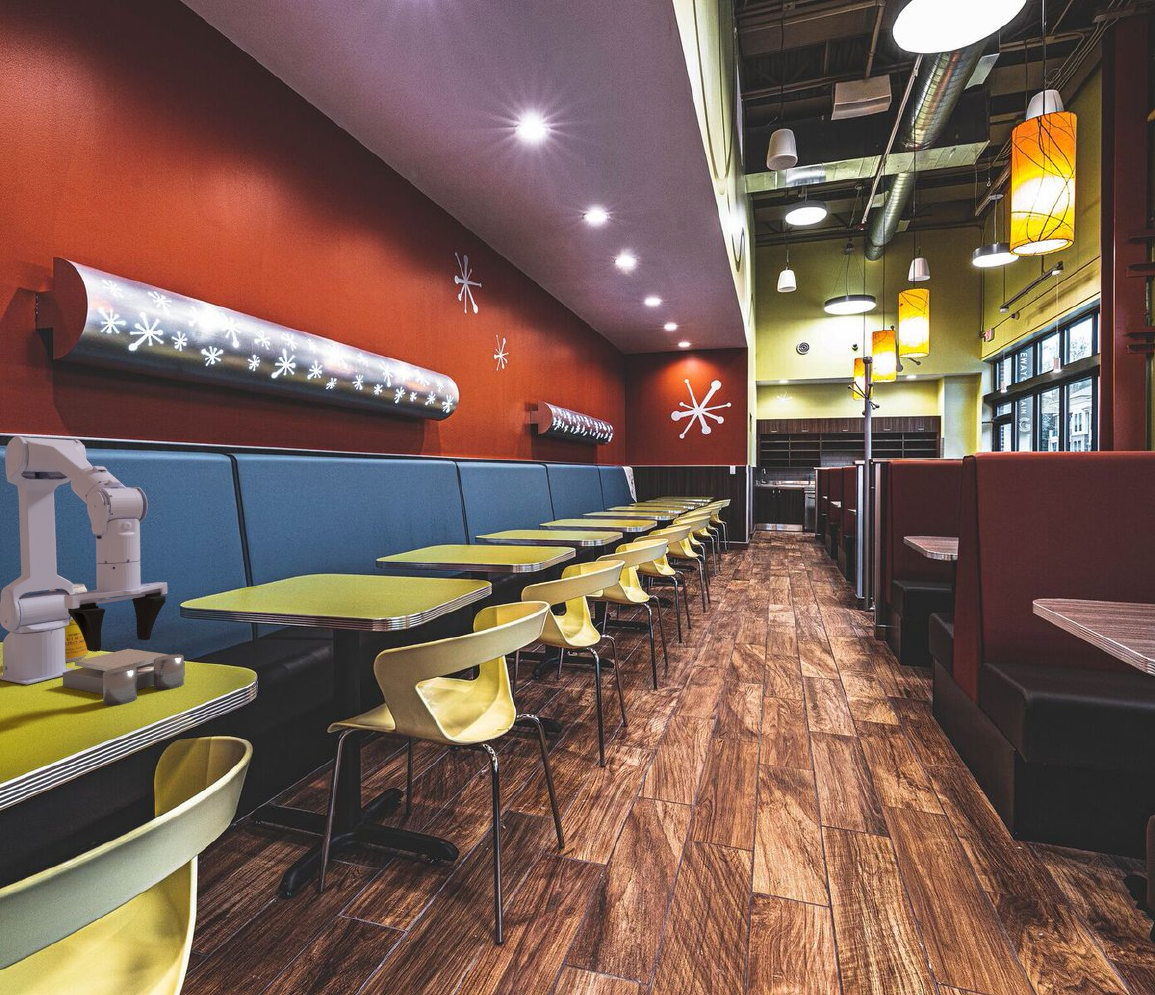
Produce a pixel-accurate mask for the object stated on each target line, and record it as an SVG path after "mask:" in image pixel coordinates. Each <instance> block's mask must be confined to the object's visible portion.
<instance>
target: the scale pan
mask: <svg viewBox="0 0 1155 995" xmlns="http://www.w3.org/2000/svg"><path fill="white" fill-rule="evenodd" d="M165 655H169V654H168V653H161V652H160V653H159V652H153V651H145V650H140V649H134V648H133V649H131V648H126V649H122V650H117V651H113V652H110V653H105V654H102V655H101V654H100V655H96V656H93V657H87V658H84V659H81V660H78V661H74V666H75V667H79V668H83V667H85V668H91V669H97V670H103V671H107V670H110V669H114V668H120V667H139V666H143V665H147V664H150V663H154V661H153V660H154V659H155V658H157V657H161V656H165Z"/></svg>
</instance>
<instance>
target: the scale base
mask: <svg viewBox="0 0 1155 995" xmlns="http://www.w3.org/2000/svg"><path fill="white" fill-rule="evenodd" d="M185 664H186V663H185V662H184V677H185V675H186V673H185V668H186V666H185ZM136 668H137V691H139V690H141V689H145V688H148V687H152V686H154V663H150V664H147V665H143V666H139V667H136ZM74 669H75V668H74ZM103 672H105V671H103V670H97V669H91V668H85V667H79V668H76V669H75V670H71V671H67V672H63V676H62V687H63V688H68V689H74V690H78V691H84V692H89V693H95V694H99V693H100V695H103Z"/></svg>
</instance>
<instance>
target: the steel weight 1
mask: <svg viewBox="0 0 1155 995" xmlns="http://www.w3.org/2000/svg"><path fill="white" fill-rule="evenodd" d="M102 697H103V701H102V702H103V705H104V706H107V707H115V706H121V705H126V704H129V703H133V702H135V701H136V700H137V699H138V690H137V668H136V667H120V668H114V669H110V670H107V671H105V672H103V694H102Z"/></svg>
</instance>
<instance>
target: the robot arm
mask: <svg viewBox="0 0 1155 995" xmlns="http://www.w3.org/2000/svg"><path fill="white" fill-rule="evenodd" d="M4 454H5V457H4V458H5V459H4V460H5V475H6V480H7V483H9V484H13V485H15V486H16V487H17V493H18V512H19V514H18V517H19V519H18V520H19V539H20V543H19V544H20V548H19V549H20V569H21V575H20V576H19V577H17V578H16V579H15V580H13V581H12V582H9V584H7V585H5V586H4V587H3V588H2V589H1V592H0V625H1V627H3V629H5V630H6V631H8V632H9V633H8V634H7V635H6V636H5V638H4V639H3V641H2V645H1V646H2V647H1V648H2V674H1V675H0V680H2V681H7V682H12V683H17V684H23V685H31V684H35V683H38V682H43V681H47V680H50V679H51V680H52V679H56V678H58V677H63V672H67V671H71V670H75V668H69V667H66V663H65V626H68V625H69V621H71V620H72V619H74V621H75V622H76V624H77V625H78V627H79V629H80V631H81V633H82V635H83V638H84V640H85V643H86V647H87V650H88V652H92V653H93V652H94V653H96V652H97V653H98V652H101V648H102V626H103V620H104V615H105V612H106V609H105V608H100V607H99V604H100V605H101V604H108V603H112V602H118V601H126V600H132V605H133V607H134V612H135V618H136V636H137V639H138V640H140V641H149V640H151V637H152V636H151V635H152V633H153V632H152V631H153V629H154V626H155V622H156V620H157V617H158V615H159V613H160V612H161V610H162V608H163V606H164V605H165V604H166V603H167V602H166V601H167V597H166V596H165V595H166V594H168V582H166V581H165V582H163V581H156V582H148V583H141V580H142V579H141V525H140V524H141V523H140V522H143V520H144V519H146V517H147V514H148V509H149V508H148V507H149V504H148V499H147V498H148V497H147V495H146V493H145V491H144V490H142V487H139V486H134V487H133V486H132V487H127V486H125V485H124V484H123V483H122V482H121V481H120V480H119V479H117V478H116V477H115V476H114V475H113V474H112V473H110V471H109V470H108V469H107V468H106V467H105V466H103V465H102V466H101V465H100V466H99V465H92V464H91V463H90V462H89V461H88V460H87V449H86V447H85V444H83V442H81V441H80V440H79V439H74V438H73V439H59V438H58V439H56V438H43V437H27V436H26V437H25V436H20V435H19V436H17V435H15V436H14V437H12V438H11V439H10V440H9V441H8V443H7V445H6V448H5V452H4ZM69 482H70V487H71V490H72V491H73V492H74V494H75V495H77V496H78V498H80V500H82V501H83V502H84V503H85V504H86V505H87V506H86V507H87V515H88V517H89V520H90V524H91V531H92V534H93V535H95V546H96V547H95V551H96V552H95V554H96V555H95V556H96V557H95V558H96V560H95V562H96V563H95V564H96V572H95V573H96V589H93V590H89V591H88V590H87V592H82V593H77V594H74V588H73V584H74V583H73V582H72V581H70V580H68V579H66V578H65V577H63V576H60V575H59V574H58V571H57V570H58V569H57V545H56V544H57V542H56V541H57V540H56V515H55V490H56V489H57V488H58V487H59V486H61V485H64V484H68V483H69ZM51 589H55V590H56V591H50V590H51ZM34 592H35V593H34Z"/></svg>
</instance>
